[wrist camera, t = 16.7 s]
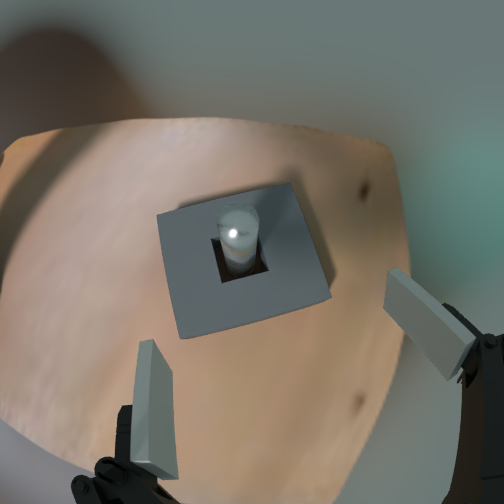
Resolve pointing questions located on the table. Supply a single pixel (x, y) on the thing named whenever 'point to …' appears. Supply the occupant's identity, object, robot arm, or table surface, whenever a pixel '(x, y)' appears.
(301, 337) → the table surface
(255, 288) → the hole block
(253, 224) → the peg
